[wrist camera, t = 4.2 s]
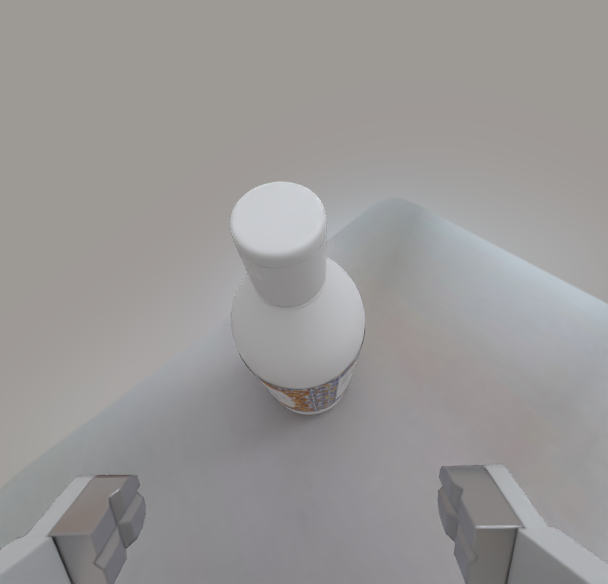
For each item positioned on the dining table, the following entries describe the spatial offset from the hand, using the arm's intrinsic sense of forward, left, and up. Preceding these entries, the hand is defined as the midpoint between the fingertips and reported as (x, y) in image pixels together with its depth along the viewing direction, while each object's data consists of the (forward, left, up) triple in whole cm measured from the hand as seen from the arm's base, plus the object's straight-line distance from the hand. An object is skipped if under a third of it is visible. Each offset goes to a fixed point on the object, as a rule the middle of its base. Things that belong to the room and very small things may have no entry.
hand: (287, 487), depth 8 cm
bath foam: (+4, +6, -17) cm, 19 cm away
